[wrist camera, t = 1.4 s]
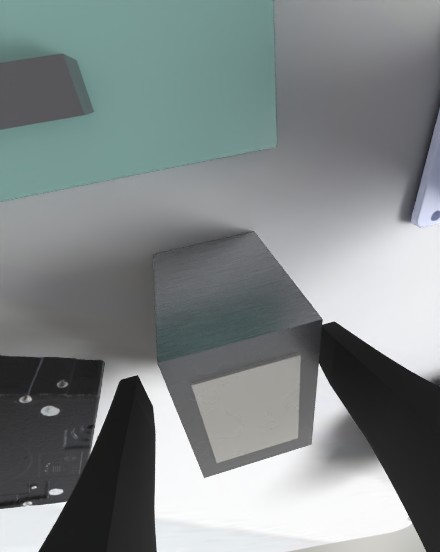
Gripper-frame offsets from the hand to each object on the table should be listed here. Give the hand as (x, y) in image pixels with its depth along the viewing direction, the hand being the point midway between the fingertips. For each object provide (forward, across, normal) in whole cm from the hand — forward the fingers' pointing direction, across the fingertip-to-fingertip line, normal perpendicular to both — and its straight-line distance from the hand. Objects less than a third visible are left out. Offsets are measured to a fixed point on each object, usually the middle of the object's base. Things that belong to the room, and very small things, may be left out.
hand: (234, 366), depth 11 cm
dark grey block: (+4, 0, 0) cm, 4 cm away
